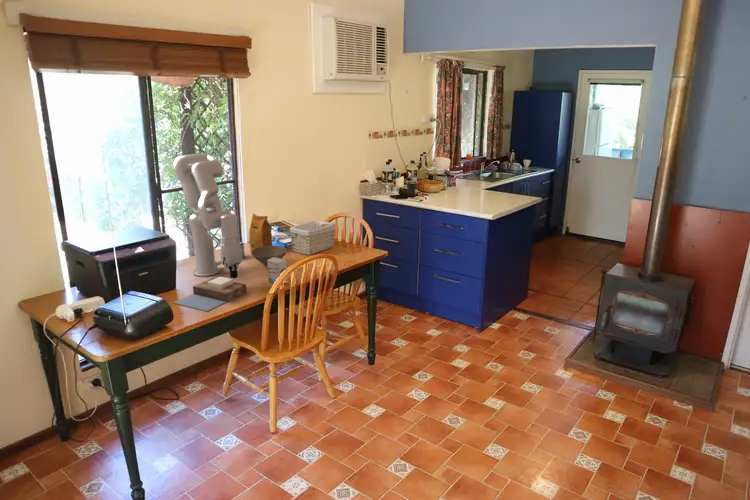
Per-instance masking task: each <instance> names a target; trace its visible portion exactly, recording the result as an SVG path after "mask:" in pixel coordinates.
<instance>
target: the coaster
mask: <svg viewBox="0 0 750 500" xmlns="http://www.w3.org/2000/svg"><path fill="white" fill-rule="evenodd" d="M215 278H216V279H213V280H211V281H209V282H208V286H210V287H215V288H219V289H222V288H224V287H227V286H229V285H231V284H233V283H234V282H235V281H234V278H231V277H229V278H228V277H226V276H225V277H223V276H218V277H215Z"/></svg>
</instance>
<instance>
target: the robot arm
mask: <svg viewBox="0 0 750 500" xmlns="http://www.w3.org/2000/svg"><path fill="white" fill-rule="evenodd" d="M173 169H174V173H175V175H176V177H177V178H178V180H179V183H180V184H181V187H182V191H183V194H184V198H185V201H186V205H187V207H188V209H189V210H190V211H197V212H195V213H192V214H191V215H190V216H189V217H188V225H189V229H190V232H191V235H192V243H193V244H192V245H193V251H194V261H195V269H194V270H193V271H192V273H193V275H194V276H197V277H209V276H214V275H217V274H218V273H219V272H220V269H219V267H218V266H220V265H223V269H226V270H229V278H230V279H237V278H239V277H238V275H239V274H238V269H239V266H240V264H241V263H242V261H243V258H242V249H241V245H240V242H241V241H240V236H239V224H238V216H237V214H235V213H232V212H231V211H229V210H228V209H227V210H223V206H222V203H221V200H220V196H219V194H218V193H219V191H220V190H219V186H218V184H217V182H216V180H215V179H216V178H221V177H223V174H224V168H223V166H222V164H221V162H220V161H219V160H218V159H217V158H215V157H213V156H212V155H210V154H208V153H203V152H202V153H192V154H191V153H190V154H184V155H183V154H182V155H179V156H177V157H176V158H175V159H174V161H173ZM207 209H209V210H207ZM215 229H220V230H221V231H220V232H221V240H222V244H221V246H220V260H219V261H216V258H215V257H216V256H215V248H214V247H215V246H214V239H213V237H212V235H211V234H210V233H209V232H208V231H210V230H211V231H212V230H215Z"/></svg>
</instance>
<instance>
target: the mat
mask: <svg viewBox="0 0 750 500" xmlns="http://www.w3.org/2000/svg"><path fill="white" fill-rule="evenodd" d="M225 303H227V302H226V301H221V300H217V299H213V298H209V297H204V296H200V295H196V294H194V293H192V294H190V295H187V296H185V297H183V298H180V299H179V300H176V301H174V302H173V304H175V305H178V306H182V307H187V308H191V309H194V310H199V311H201V312H202V311H203V312H206V313H208V312H210V311H212V310H213V309H216V308H218V307H220V306H222V305H224V304H225Z"/></svg>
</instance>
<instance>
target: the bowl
mask: <svg viewBox="0 0 750 500" xmlns="http://www.w3.org/2000/svg"><path fill="white" fill-rule="evenodd" d="M287 252H288V249H287V248H285V247H283V246H281V245H272V246H263V247H259V248H256V249H254V250H252V252H251V251H250V254H251V256H252V257H253V258H254V259H255V260H256V261H258V262H260V264H262V265H265V266H268V264H267V260H268V259H271V258H273V257H276V258H280V259H284V258H285V256H286V254H287Z"/></svg>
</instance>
